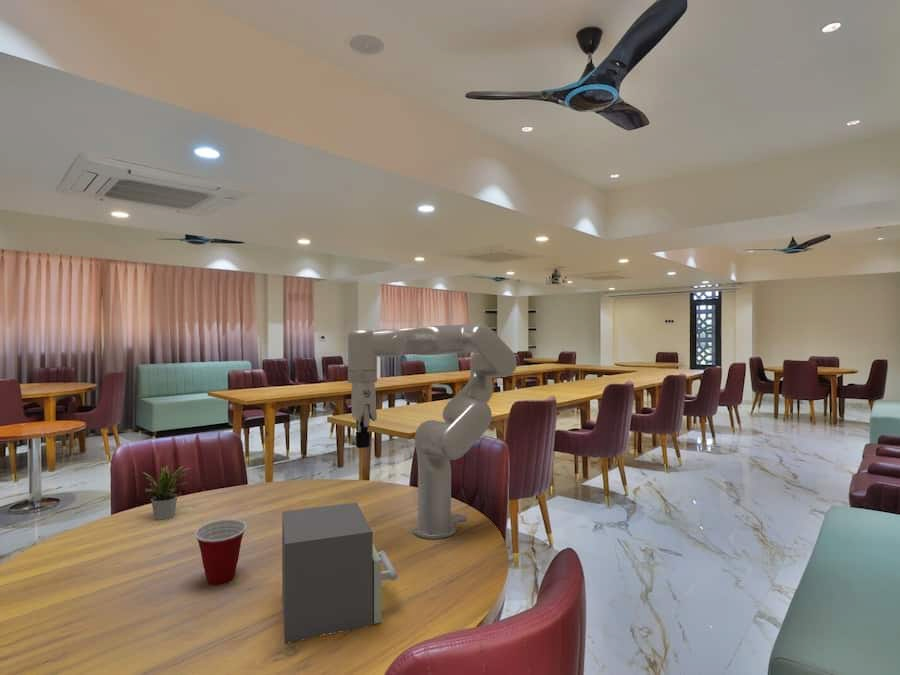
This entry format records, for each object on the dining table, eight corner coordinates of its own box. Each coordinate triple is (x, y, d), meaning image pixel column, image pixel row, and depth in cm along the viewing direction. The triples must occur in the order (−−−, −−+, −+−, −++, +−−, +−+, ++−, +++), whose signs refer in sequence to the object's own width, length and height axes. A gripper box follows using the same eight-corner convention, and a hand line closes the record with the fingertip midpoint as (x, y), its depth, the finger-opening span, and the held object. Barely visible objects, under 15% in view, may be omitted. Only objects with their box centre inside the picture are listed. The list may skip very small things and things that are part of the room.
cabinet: (356, 582, 110) (356, 502, 110) (372, 625, 93) (372, 531, 93) (282, 595, 104) (282, 511, 105) (284, 643, 88) (284, 543, 88)
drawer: (382, 576, 112) (382, 524, 112) (401, 618, 95) (401, 556, 95) (289, 592, 105) (289, 536, 105) (293, 640, 88) (293, 574, 88)
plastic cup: (194, 596, 104) (194, 540, 104) (194, 575, 113) (194, 523, 114) (248, 584, 109) (248, 531, 109) (244, 565, 118) (244, 515, 118)
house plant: (203, 515, 152) (203, 463, 153) (157, 529, 141) (157, 473, 141) (178, 507, 160) (178, 457, 160) (132, 520, 148) (133, 466, 148)
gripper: (383, 378, 122) (383, 451, 121) (370, 374, 135) (370, 440, 135) (353, 379, 119) (353, 454, 119) (343, 375, 133) (343, 442, 132)
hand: (362, 446), depth 127 cm, fingers closed
